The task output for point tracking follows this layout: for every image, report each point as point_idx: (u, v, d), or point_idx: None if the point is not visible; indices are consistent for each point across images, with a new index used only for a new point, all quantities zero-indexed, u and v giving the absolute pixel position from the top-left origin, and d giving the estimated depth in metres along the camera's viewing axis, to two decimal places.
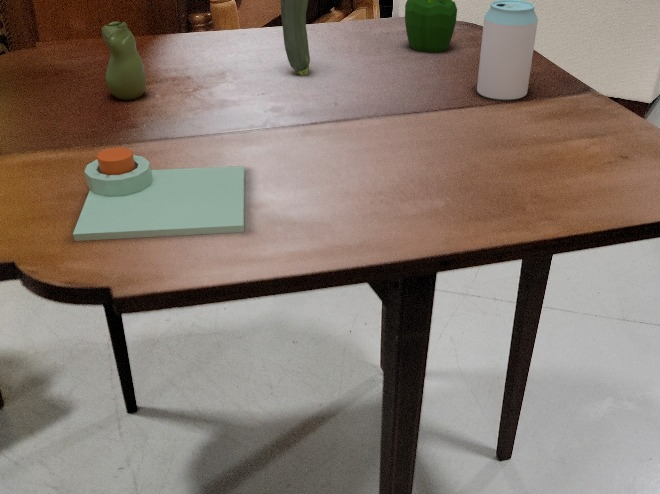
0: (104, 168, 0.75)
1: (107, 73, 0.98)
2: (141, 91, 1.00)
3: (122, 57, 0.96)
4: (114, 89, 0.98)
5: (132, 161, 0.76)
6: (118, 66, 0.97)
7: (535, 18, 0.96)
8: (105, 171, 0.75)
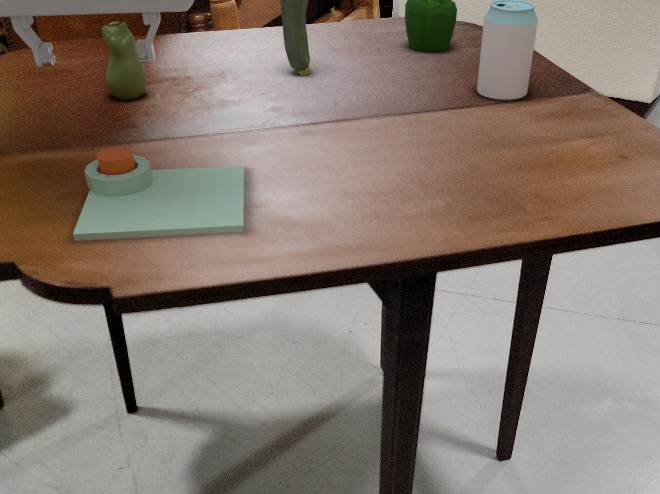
0: (104, 168, 0.75)
1: (107, 73, 0.98)
2: (141, 91, 1.00)
3: (122, 57, 0.96)
4: (114, 89, 0.98)
5: (132, 161, 0.76)
6: (118, 66, 0.97)
7: (535, 18, 0.96)
8: (105, 171, 0.75)
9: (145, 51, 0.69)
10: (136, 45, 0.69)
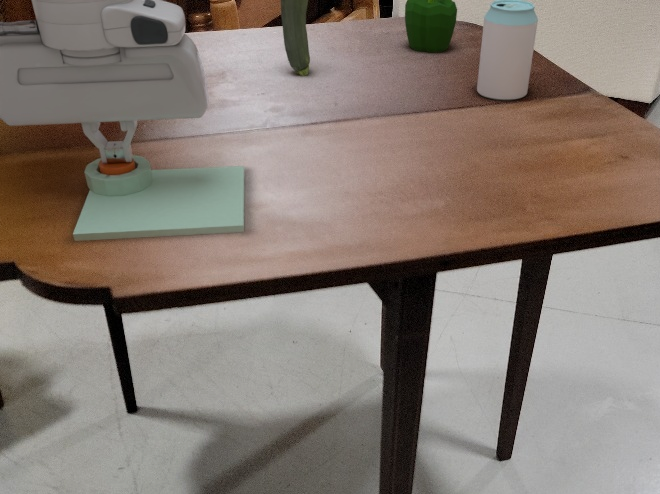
0: None
1: None
2: None
3: None
4: None
5: (133, 168, 0.77)
6: None
7: (535, 18, 0.96)
8: None
9: (123, 153, 0.75)
10: (114, 148, 0.75)
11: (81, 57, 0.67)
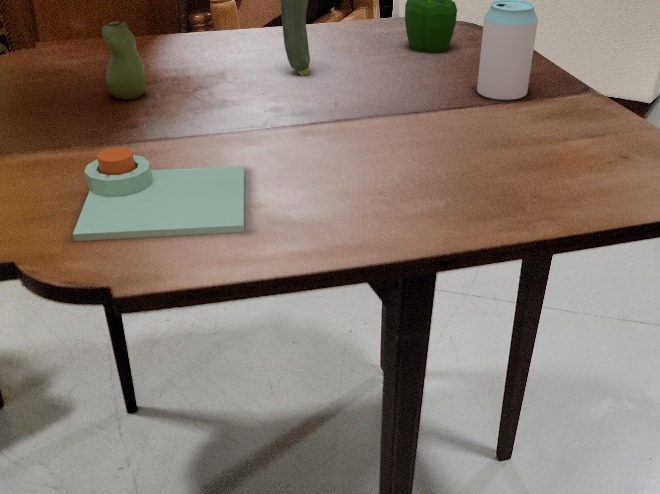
0: (104, 168, 0.75)
1: (107, 73, 0.98)
2: (141, 91, 1.00)
3: (122, 57, 0.96)
4: (114, 89, 0.98)
5: (132, 161, 0.76)
6: (118, 66, 0.97)
7: (535, 18, 0.96)
8: (105, 171, 0.75)
9: None
10: None
11: None
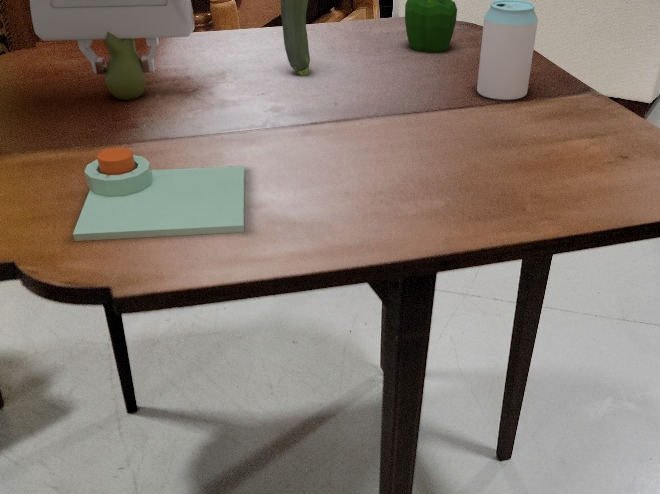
0: (104, 168, 0.75)
1: (106, 73, 0.98)
2: (140, 91, 1.00)
3: (121, 57, 0.96)
4: (114, 89, 0.98)
5: (132, 161, 0.76)
6: (117, 66, 0.97)
7: (535, 18, 0.96)
8: (105, 171, 0.75)
9: (147, 64, 0.98)
10: (141, 60, 0.98)
11: None
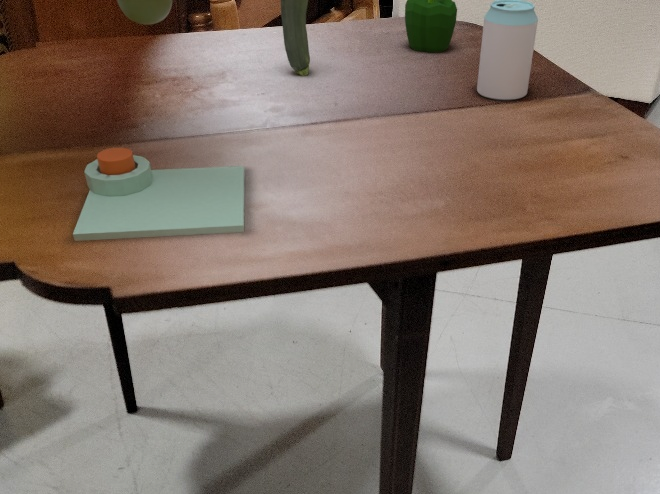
0: (104, 168, 0.75)
1: None
2: (166, 10, 0.72)
3: None
4: (129, 6, 0.70)
5: (132, 161, 0.76)
6: None
7: (535, 18, 0.96)
8: (105, 171, 0.75)
9: None
10: None
11: None
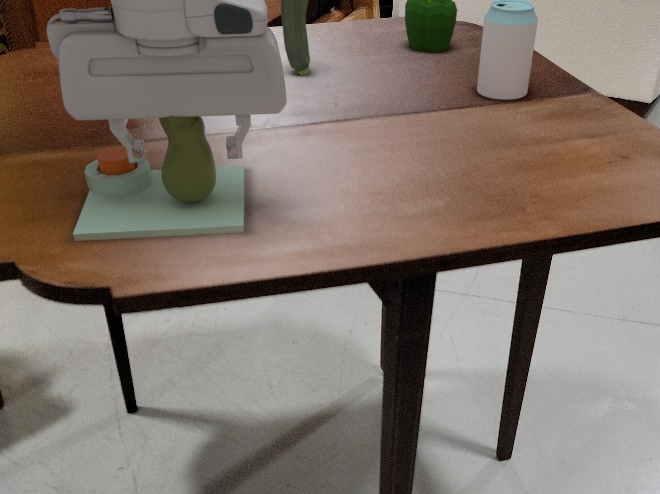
0: (104, 168, 0.75)
1: (165, 168, 0.71)
2: (210, 191, 0.73)
3: (187, 149, 0.69)
4: (175, 190, 0.71)
5: None
6: (181, 161, 0.70)
7: (535, 18, 0.96)
8: (105, 171, 0.75)
9: (235, 149, 0.71)
10: (227, 143, 0.71)
11: (159, 47, 0.63)
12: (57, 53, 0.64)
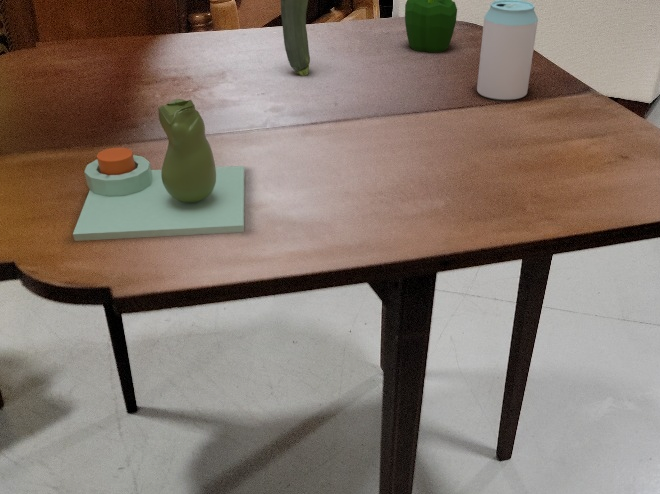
0: (104, 168, 0.75)
1: (165, 168, 0.71)
2: (210, 191, 0.73)
3: (187, 149, 0.69)
4: (175, 190, 0.71)
5: (132, 161, 0.76)
6: (181, 161, 0.70)
7: (535, 18, 0.96)
8: (105, 171, 0.75)
9: None
10: None
11: None
12: None
